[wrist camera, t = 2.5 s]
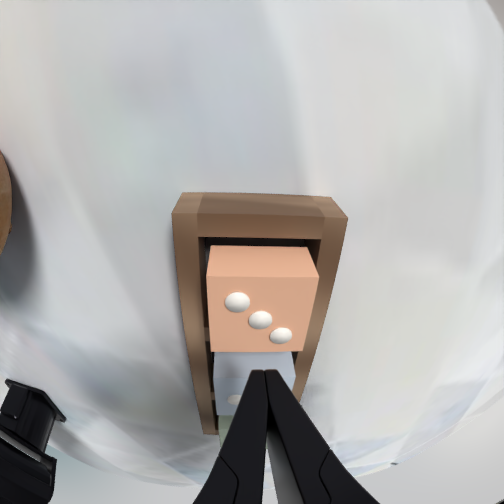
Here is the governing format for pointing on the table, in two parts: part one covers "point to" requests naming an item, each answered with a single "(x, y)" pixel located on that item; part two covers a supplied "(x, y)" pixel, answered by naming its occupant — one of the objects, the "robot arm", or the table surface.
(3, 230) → the onion
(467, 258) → the table surface
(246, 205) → the key strip
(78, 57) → the table surface
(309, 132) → the table surface
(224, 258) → the key three terracotta
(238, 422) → the robot arm
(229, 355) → the key two blue
